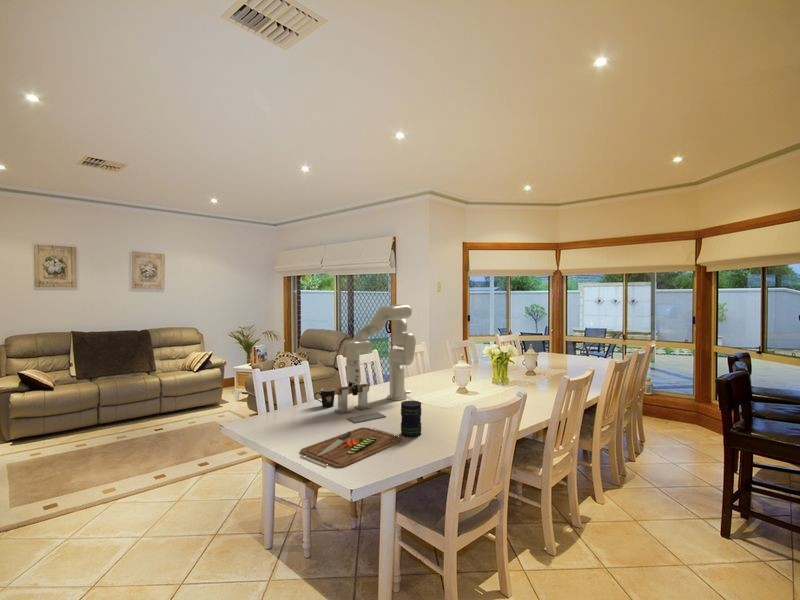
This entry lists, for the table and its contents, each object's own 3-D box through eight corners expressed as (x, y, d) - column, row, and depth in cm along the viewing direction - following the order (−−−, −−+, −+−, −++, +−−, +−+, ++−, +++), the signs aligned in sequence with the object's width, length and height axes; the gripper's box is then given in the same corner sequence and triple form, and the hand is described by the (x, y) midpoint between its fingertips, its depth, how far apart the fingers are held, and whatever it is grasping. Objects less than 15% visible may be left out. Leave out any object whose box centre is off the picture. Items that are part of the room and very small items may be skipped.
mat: (377, 413, 230) (377, 412, 230) (386, 417, 222) (386, 416, 222) (347, 418, 219) (347, 417, 219) (355, 423, 212) (355, 422, 212)
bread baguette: (366, 389, 243) (366, 383, 243) (369, 390, 240) (369, 384, 240) (335, 394, 232) (335, 388, 232) (338, 395, 229) (338, 389, 229)
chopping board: (335, 473, 154) (335, 465, 154) (292, 455, 171) (292, 448, 171) (408, 440, 189) (408, 433, 189) (366, 428, 206) (366, 421, 206)
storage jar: (397, 436, 193) (397, 404, 192) (404, 429, 202) (404, 399, 202) (417, 439, 189) (417, 406, 189) (424, 432, 198) (424, 401, 198)
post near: (345, 409, 237) (345, 386, 237) (351, 412, 232) (351, 388, 231) (334, 411, 233) (334, 388, 233) (339, 414, 228) (339, 390, 227)
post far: (365, 405, 245) (365, 383, 244) (370, 408, 239) (370, 386, 239) (354, 407, 241) (354, 385, 241) (360, 410, 235) (360, 387, 235)
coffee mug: (336, 404, 248) (336, 388, 247) (333, 408, 239) (333, 391, 239) (318, 404, 249) (318, 387, 248) (313, 407, 240) (313, 391, 240)
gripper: (365, 364, 231) (365, 396, 231) (351, 360, 245) (351, 390, 245) (353, 365, 227) (354, 398, 227) (340, 361, 241) (340, 392, 241)
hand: (352, 393), depth 236 cm, fingers open, 4 cm apart
